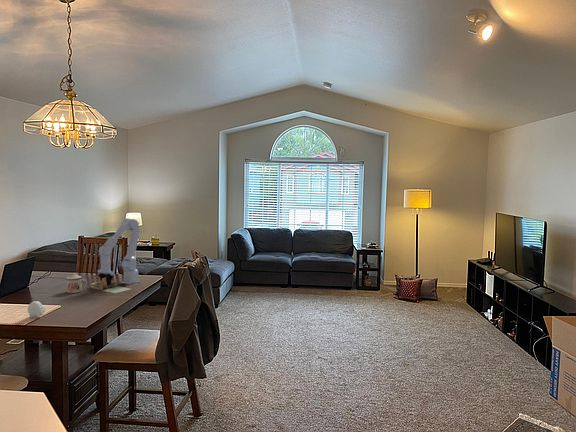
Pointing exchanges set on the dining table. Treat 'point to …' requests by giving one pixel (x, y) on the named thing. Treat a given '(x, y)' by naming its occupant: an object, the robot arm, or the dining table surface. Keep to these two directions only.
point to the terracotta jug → (104, 283)
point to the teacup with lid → (74, 283)
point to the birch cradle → (98, 286)
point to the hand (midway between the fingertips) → (106, 284)
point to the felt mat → (116, 289)
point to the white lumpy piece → (35, 309)
